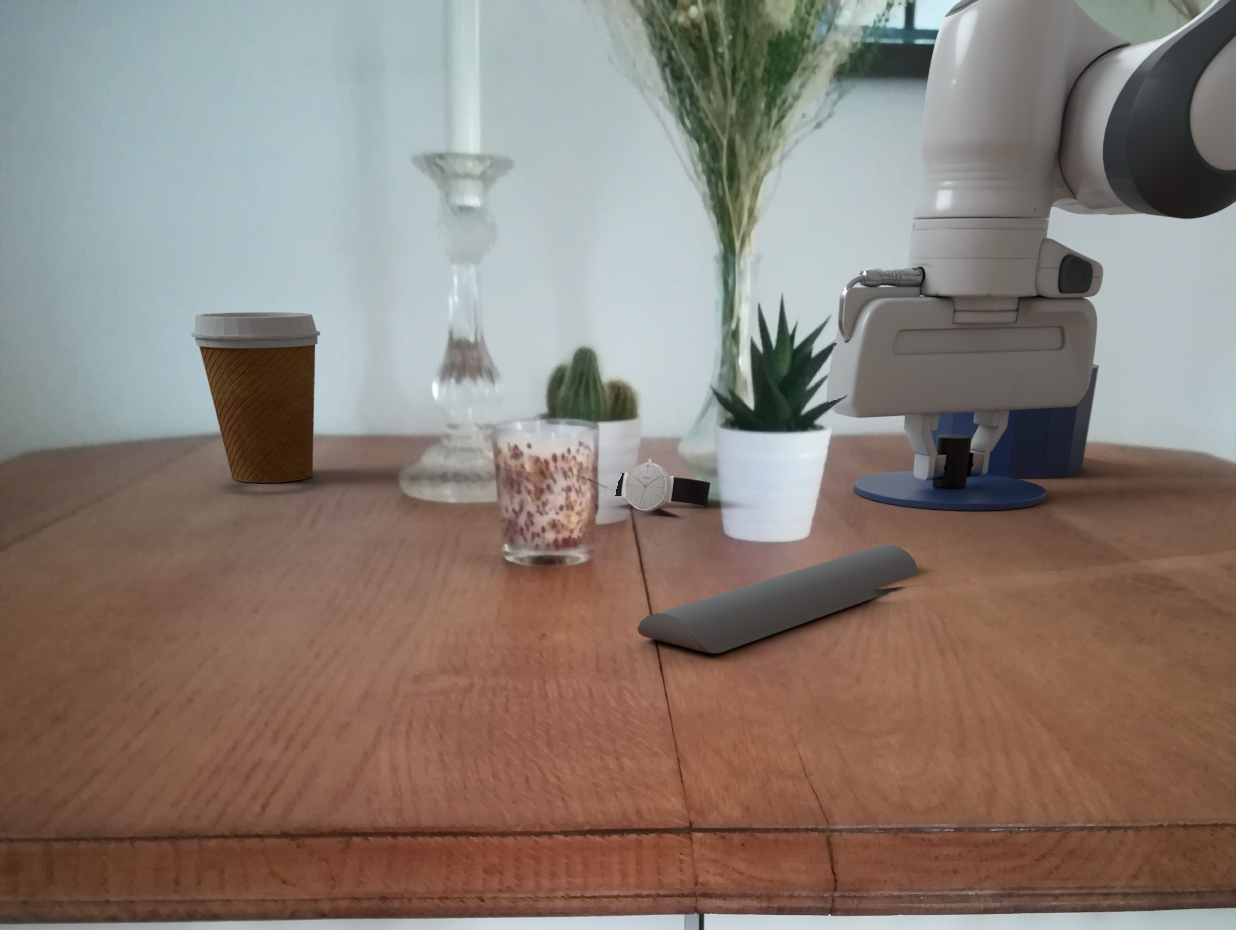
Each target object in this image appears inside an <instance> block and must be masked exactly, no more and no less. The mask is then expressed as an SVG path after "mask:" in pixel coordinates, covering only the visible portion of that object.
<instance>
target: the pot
mask: <svg viewBox="0 0 1236 930" xmlns="http://www.w3.org/2000/svg"><path fill="white" fill-rule="evenodd" d="M1099 369H1100V365H1099V364H1096V363H1093V368H1092V373H1091V379H1090V383H1089V387H1088V390H1087V392H1086V393H1085V395H1084V396H1083V397H1082V399H1081V400H1080V402H1079V403H1078V404H1077V405H1076V406H1074V407H1060V408H1041V409H1022V410H1009V416H1008V424H1007V428H1006V429H1005V431H1004V432H1003V434H1002V436H1001V437H1000V439H999V440H998V442H997V444H996V445H995V447H994V448H993V450H992V451H991V452H990V457H989V465H988V472H987V474H988V475H996V476H1003V477H1009V478H1015V479H1019V480H1044V479H1045V480H1046V479H1057V478H1058V479H1060V478H1068V477H1072V476H1076V475H1079V474H1081V473H1082V472H1083V468H1084V462H1085V456H1086V449H1087V444H1088V437H1089V430H1090V424H1091V417H1092V412H1093V406H1094V400H1095V394H1096V388H1097V383H1098V382H1097V381H1098V376H1099ZM974 413H975V412H964V413H945V414H939V422H938V429H937V430H934V431H931V430H930V432H931V435H932V438H933V441H934V444H935V447H936V444H937V436H938V435H941V434H962V435H968V436H971V437H972V439H973V437H974V435H975V433H976V431H977V429H978V427H979V424H974Z"/></svg>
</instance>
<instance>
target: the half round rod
mask: <svg viewBox="0 0 1236 930" xmlns="http://www.w3.org/2000/svg"><path fill="white" fill-rule="evenodd" d="M918 574H919V569H918V565H917V564H916V561H915V559H914V558H913V556H911V554H910V553H909V552H908V551H906V550H905V549H903V548H902V547H900V546H897V545H894V544H880V545H877V546H873V547H870V548H867V549H864V550H860V551H857V552H853V553H851V554H847V555H844V556H841V557H837V558H834V559H831V560H827V561H823V562H820V563H818V564H814V565H810V566H808V567H804V568H800V569H798V570H794V571H791V572H787V573H784V574H781V575H778V576H775V577H770V578H767V579H765V580H761V581H759V582H755V583H751V584H747V585H745V586H741V587H739V588H735V589H732V590H729V591H725V592H722V593H718V594H715V595H712V596H709V597H705V598H701V599H698V600H696V601H692V602H689V603H686V604H682V605H679V606H675V607H673V608H669V609H666V610H663V611H659V612H655V613H652V614H649V615H647V616H646V617H644V618H643V619H642V620H641V621H640V622H639V625H638V627H637V631H638V634H639V635H641V636H642V637H644V638H648V639H652V640H656V641H660V642H664V643H667V644H672V645H676V646H679V647H682V648H687V649H691V650H694V651H699V652H703V653H706V654H720V653H724V652H726V651H729V650H732V649H735V648H737V647H740V646H743V645H746V644H748V643H751V642H754V641H757V640H760V639H762V638H765V637H769V636H771V635H774V634H776V633H777V634H778V633H780V632H783V631H785V630H788V629H791V628H793V627H796V626H800V625H803V624H805V623H807V622H810V621H813V620H815V619H819V618H821V617H824V616H827V615H830V614H833V613H836V612H838V611H842V610H843V609H847V608H850V607H852V606H856V605H858V604H861V603H863V602H866V601H869V600H872V599H875V598H877V597H880V596H883V595H887V594H889V593H892V592H895V591H897V590H900V589H902V588H905V587H906V586H907V585H906V586H896V587H886V588H883V587H885V586H888V585H891V584H893V583H896V582H900V581H902V580H904V579H908V578H911V577H914V576H916V575H918Z"/></svg>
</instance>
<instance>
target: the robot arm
mask: <svg viewBox="0 0 1236 930" xmlns="http://www.w3.org/2000/svg"><path fill="white" fill-rule="evenodd" d="M1132 43H1133V42H1131V41H1129V40H1126V39H1125V38H1121V37H1120V36H1118V35H1116V34H1115V33H1113V32H1111V31H1110V30H1108V29H1107V28H1106V27H1104V26H1103V25H1101V24H1100V23H1099V22H1097V21H1096V19H1094V18H1093V17H1091V16H1090V15H1089V14H1088V12H1087V11H1085V9H1084V8H1083V7H1082V6H1081V5H1080V4H1079V2H1078V1H1077V0H960V1H958V2H957V3H956V4H954V5H953V6H952V7H951V9H950V10H949V11H948V12H947V13H946V14H945V15H944V17H943V19H942V21H941V23H940V25H939V29H938V32H937V34H936V38H935V42H934V46H933V51H932V55H931V60H930V64H929V65H930V66H929V71H928V76H927V83H926V87H925V95H924V101H923V102H924V103H923V110H922V119H921V127H920V128H921V129H920V137H919V153H920V159H921V165H922V177H921V179H922V180H921V186H920V191H919V195H918V198H917V201H916V204H915V205H914V206H915V207H914V209H913V213H912V221H911V232H910V243H909V254H908V264H907V267H897V268H892V269H891V268H890V269H882V268H878V267H869V268H865V269H862V270H861V271H860V272H859V273H858V275H857V276H854V277H853V278H852V279H850V280H849V281H848V282H847V283H846V284H845V286H844V287H843V289H842V290H841V293H840V294H839V299H838V308H837V309H838V311H837V312H838V313H837V331H836V334H835V339H834V343H837V345H836V346H835V347H834V346H833V348H834V349H833V348H832V353H831V359H830V364H829V372H828V377H829V379H828V378H827V384H826V400H827V402H828V403H829V402H831V401H833V400H837V399H839V398H842V397H844V396H845V395H848V396H847V398H845V399H844V400H842V401H840V402H839V403H837V405H834V406H833V407H831V409H832V410H833V412H834V413H835V414H837V415H840V416H843V417H851V418H857V419H865V418H866V419H867V418H886V417H902V416H903V417H904V419H903V420H904V421H903V430H904V433H905V434H906V437H907V439H908V441H909V444H910V447H911V449H912V451H913V453H914V461H913V470H912V471H913V473H914V477H915V478H916V479H920V480H924V481H926V480H937V479H942V478H943V477H944V475H945V470H944V466H945V465H946V458H947V455H945V454H941V453H937V451H936V447H935V444H934V441H933V438H932V435H931V432H930V430H931V431H934V430H937V429H938V422H939V414H945V413H964V412H975V413H974V424H979V427H978V429H977V431H976V433H975V435H974V437H973V439H972V440H971V449H970V457H969V465H968V473H967V477H979V476H985V475H986V474H987V472H988V465H989V457H990V452H991V451H992V450H993V448H994V447H995V445H996V444H997V442H998V440H999V439H1000V437H1001V436H1002V434H1003V432H1004V431H1005V429H1006V428H1007V424H1008V416H1009V410H1022V409H1041V408H1060V407H1074V406H1076V405H1077V404H1078V403H1079V402H1080V400H1081V399H1082V397H1083V396H1084V395H1085V393H1086V392H1087V390H1088V387H1089V383H1090V379H1091V373H1092V368H1093V364H1094V361H1095V354H1096V353H1095V352H1096V344H1097V336H1098V335H1097V334H1098V315H1097V311H1096V308H1095V306H1094V304H1093V302H1092V301H1090V300H1089V299H1087V298H1091V297H1094V296H1096V295H1097V294H1099V292H1100V290H1101V288H1102V284H1103V279H1104V267H1103V266H1102V264H1101V263H1100V262H1098V261H1097V260H1095V259H1093V258H1091V257H1089V256H1086V255H1084V254H1082V253H1080V252H1078V251H1076V250H1075V249H1071V248H1070V247H1068V246H1066V245H1065V244H1062V243H1061V242H1059V241H1057V240H1056V239H1053V238H1050V237H1048V233H1049V224H1050V216H1051V210H1052V207H1053V208H1057V209H1060V210H1062V211H1065V212H1067V213H1072V214H1077V215H1084V216H1085V215H1087V216H1092V215H1094V216H1095V215H1106V216H1107V215H1108V216H1123V215H1125V216H1126V215H1147V216H1149V215H1150V216H1156V217H1157V216H1158V217H1165V218H1174V219H1180V220H1192V219H1193V220H1194V219H1201V218H1204V217H1209V216H1211V215H1215V214H1216V213H1218V212H1221V211H1223V210H1226V208H1228V207H1230V206H1232V205H1233V204H1234V203H1236V0H1213V1H1212V2H1211V3H1210V4H1209V5H1208V6H1207V7H1206V8H1205V9H1204V10H1202V12H1201V13H1199V14H1198V15H1197V16H1195V17H1194V18H1193V19H1191V20H1190V21H1188V22H1187V23H1186V24H1184V25H1183V26H1182V27H1180V28H1178V29H1176V30H1175V31H1173V32H1171V33H1170V34H1168V35H1165V36H1163V37H1161V38H1157V39H1153V40H1150V41H1145V42H1142V43H1138V44H1133V45H1132ZM857 284H859V285H860V286H855V285H857Z"/></svg>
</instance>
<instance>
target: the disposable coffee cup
mask: <svg viewBox="0 0 1236 930" xmlns="http://www.w3.org/2000/svg"><path fill="white" fill-rule="evenodd" d="M190 334H191V337H192V338H194V340H195V344H196V346H197V347H198V348H199V351H200V354H201V355H200V356H201V358H202V359H201V360H202V363H203V366H204V370H205V374H206V379H207V383H208V386H209V391H210V394H211V399H212V402H213V403H212V404H213V406H214V410H215V414H216V415H215V416H216V418H217V424H218V426H219V431H220V434H221V438H222V442H223V447H224V450H225V454H226V458H227V463H228V467H229V470H230V475H231V478H232V479H233V480H235V481H239V482H245V483H260V484H267V483H268V484H269V483H270V484H271V483H286V482H295V481H299V480H305V479H308V478H310V477H312V476H314V475H313V474H314V472H313V471H314V469H313V468H314V430H315V429H314V427H315V382H316V381H315V379H316V378H315V377H316V345H317V344H318V342H319V341H318V336H321V331H319V330H317V327H316V323H315V320H314V317H313V314H312V313H307V312H276V311H275V312H273V311H271V312H270V311H268V312H267V311H255V312H254V311H250V312H249V311H248V312H247V311H245V312H244V311H243V312H212V313H200V314H199V313H198V314H195V316H194V330H193V332H191V333H190Z"/></svg>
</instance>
